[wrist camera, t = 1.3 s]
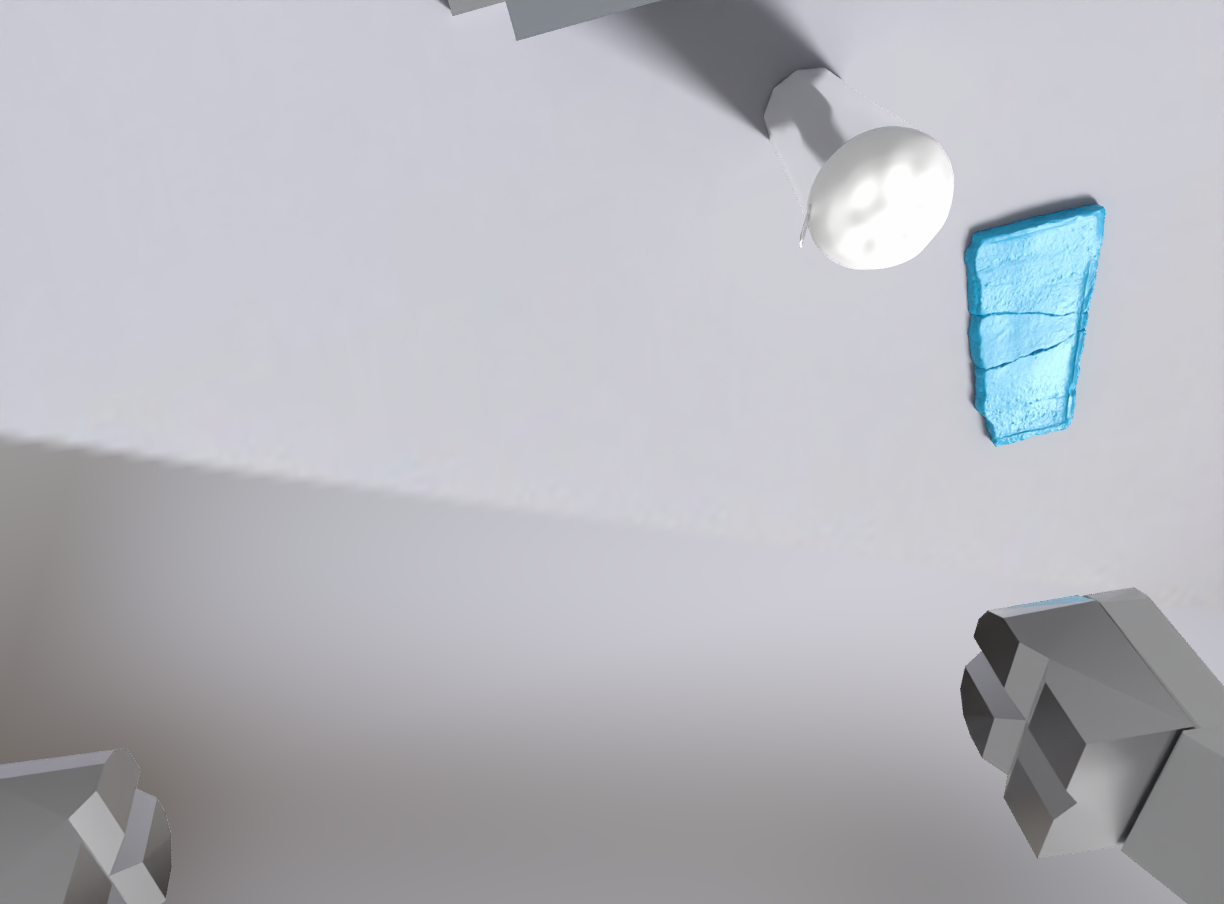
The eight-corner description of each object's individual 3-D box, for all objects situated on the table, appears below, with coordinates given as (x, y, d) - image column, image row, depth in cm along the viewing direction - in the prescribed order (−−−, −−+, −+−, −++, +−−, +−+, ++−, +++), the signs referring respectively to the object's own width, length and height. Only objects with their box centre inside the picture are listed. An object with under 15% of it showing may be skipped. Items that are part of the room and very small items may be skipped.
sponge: (951, 455, 47) (1076, 440, 47) (967, 232, 40) (1116, 210, 39) (943, 436, 48) (1064, 420, 48) (957, 215, 41) (1102, 194, 40)
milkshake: (725, 55, 34) (806, 165, 27) (873, 41, 35) (995, 146, 27) (722, 178, 37) (794, 309, 29) (859, 164, 38) (965, 291, 30)
